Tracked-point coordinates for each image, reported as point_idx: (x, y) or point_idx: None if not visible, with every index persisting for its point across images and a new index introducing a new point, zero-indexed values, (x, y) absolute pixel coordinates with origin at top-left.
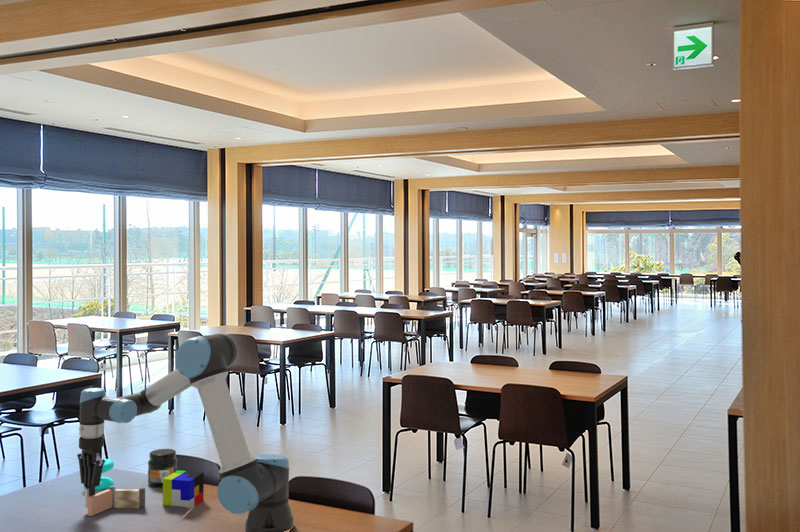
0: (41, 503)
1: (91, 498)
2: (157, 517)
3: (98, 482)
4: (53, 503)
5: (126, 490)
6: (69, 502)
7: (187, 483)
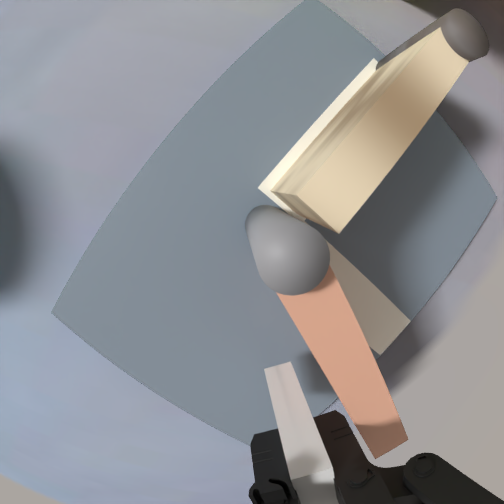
0: (15, 434)
1: (404, 437)
2: (495, 87)
3: (458, 481)
4: (22, 412)
5: (409, 129)
6: (23, 368)
7: None
